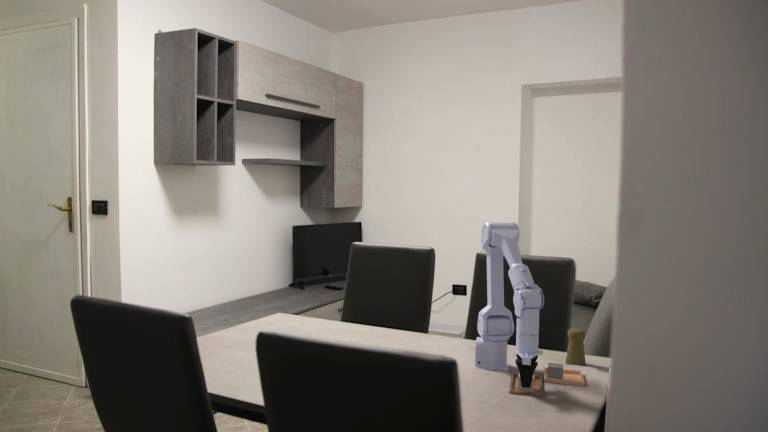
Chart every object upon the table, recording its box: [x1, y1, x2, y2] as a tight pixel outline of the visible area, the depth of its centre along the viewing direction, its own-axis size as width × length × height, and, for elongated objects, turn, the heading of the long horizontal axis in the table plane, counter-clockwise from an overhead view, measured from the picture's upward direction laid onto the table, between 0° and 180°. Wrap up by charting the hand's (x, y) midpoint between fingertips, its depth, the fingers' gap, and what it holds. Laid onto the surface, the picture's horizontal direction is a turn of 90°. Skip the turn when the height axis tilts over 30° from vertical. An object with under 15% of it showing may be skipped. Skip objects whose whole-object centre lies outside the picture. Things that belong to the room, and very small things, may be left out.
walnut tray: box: [509, 372, 543, 398], centre depth 151 cm, size 8×15×1 cm, turn 165°
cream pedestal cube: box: [518, 372, 535, 392], centre depth 147 cm, size 4×4×4 cm
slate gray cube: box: [547, 362, 564, 379], centre depth 156 cm, size 4×4×4 cm
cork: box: [565, 327, 587, 367], centre depth 173 cm, size 6×6×11 cm
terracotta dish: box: [542, 366, 585, 387], centre depth 158 cm, size 11×11×2 cm
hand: (526, 384), depth 147 cm, fingers closed on cream pedestal cube, 4 cm apart
